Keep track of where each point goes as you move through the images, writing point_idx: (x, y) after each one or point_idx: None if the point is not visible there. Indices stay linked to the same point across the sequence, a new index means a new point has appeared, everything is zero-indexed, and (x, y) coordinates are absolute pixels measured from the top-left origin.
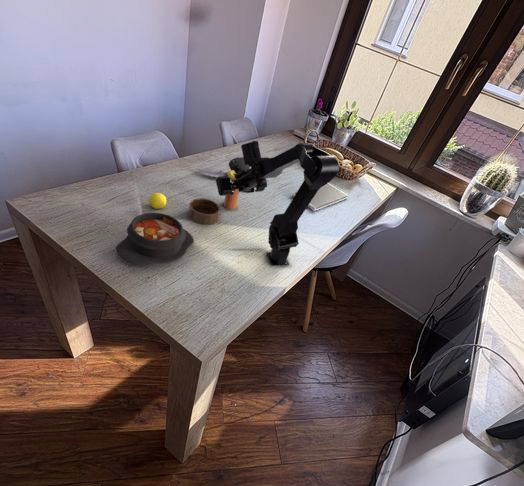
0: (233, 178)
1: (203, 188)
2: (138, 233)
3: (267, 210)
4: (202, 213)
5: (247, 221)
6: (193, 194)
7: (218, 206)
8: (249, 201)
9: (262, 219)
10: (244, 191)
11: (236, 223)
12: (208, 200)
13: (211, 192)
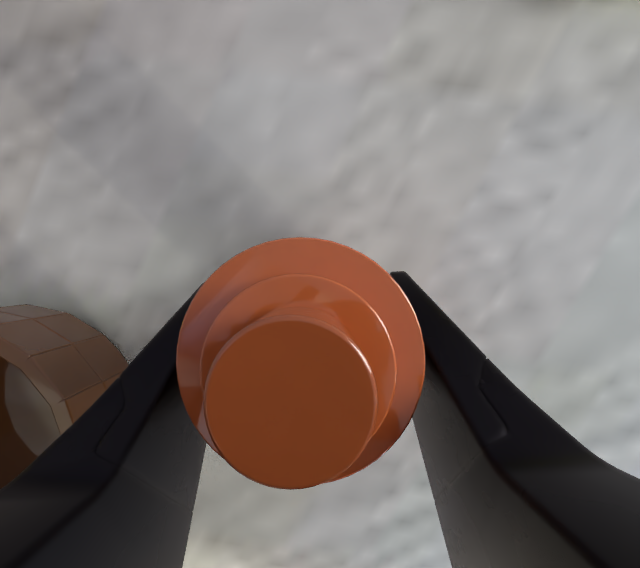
0: (261, 378)
1: (210, 2)
2: None
3: (623, 412)
4: (32, 386)
5: (363, 526)
6: (84, 88)
7: None
8: (533, 258)
9: None
10: (436, 492)
11: (261, 534)
12: (16, 363)
13: (254, 75)
